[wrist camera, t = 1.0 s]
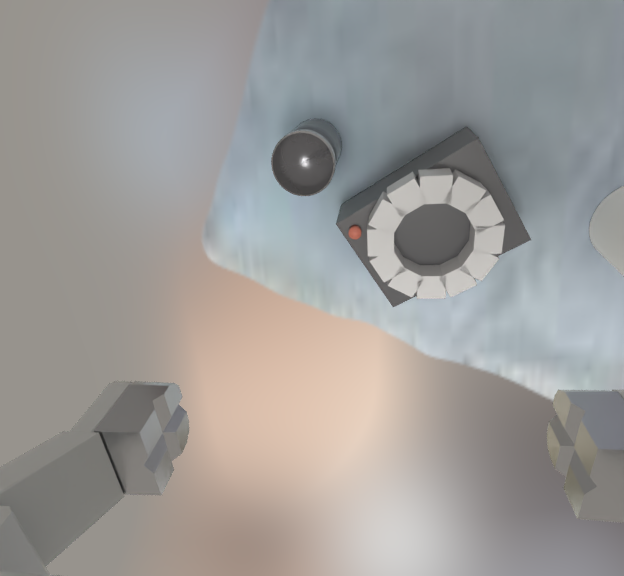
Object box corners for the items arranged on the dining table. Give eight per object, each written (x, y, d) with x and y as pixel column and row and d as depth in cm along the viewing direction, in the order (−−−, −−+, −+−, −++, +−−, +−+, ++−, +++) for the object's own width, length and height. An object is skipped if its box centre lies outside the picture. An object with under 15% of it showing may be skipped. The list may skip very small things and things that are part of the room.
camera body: (464, 121, 35) (481, 138, 29) (516, 221, 38) (541, 254, 32) (338, 201, 40) (330, 229, 33) (394, 283, 43) (396, 323, 37)
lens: (322, 105, 36) (310, 117, 30) (353, 153, 37) (347, 174, 31) (278, 138, 38) (258, 155, 32) (309, 182, 39) (295, 207, 33)
